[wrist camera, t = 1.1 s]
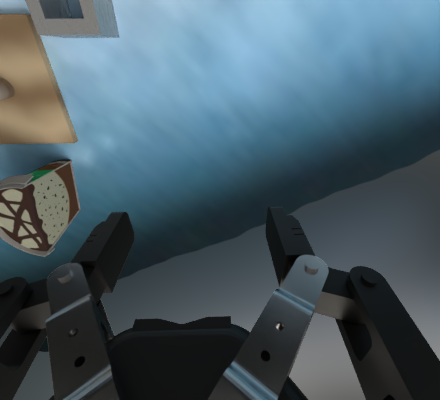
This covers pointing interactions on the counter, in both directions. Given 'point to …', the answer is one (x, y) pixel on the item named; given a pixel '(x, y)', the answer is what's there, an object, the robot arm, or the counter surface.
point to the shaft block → (29, 88)
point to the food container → (38, 207)
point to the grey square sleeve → (74, 28)
